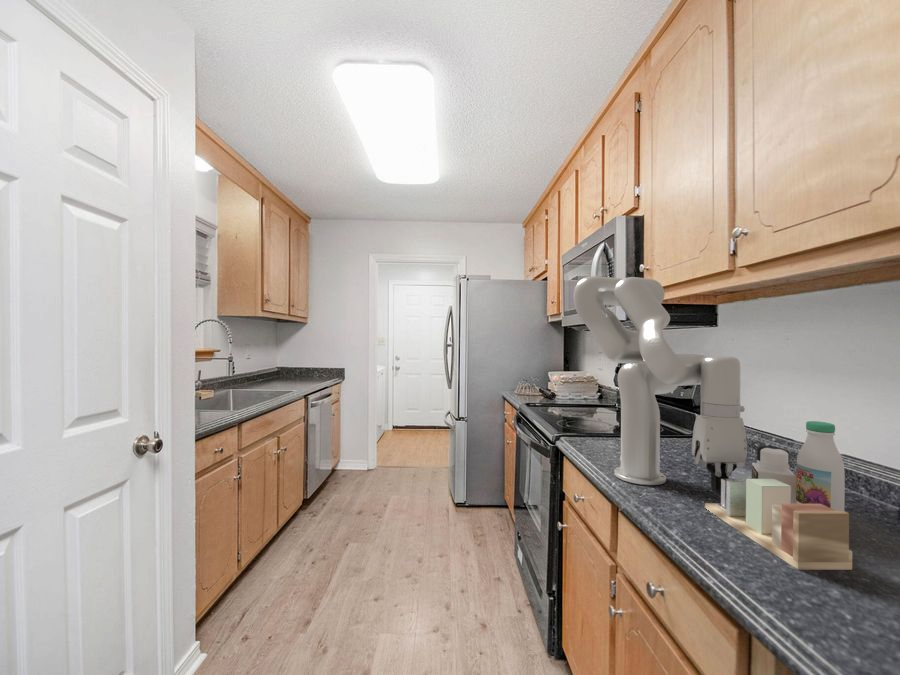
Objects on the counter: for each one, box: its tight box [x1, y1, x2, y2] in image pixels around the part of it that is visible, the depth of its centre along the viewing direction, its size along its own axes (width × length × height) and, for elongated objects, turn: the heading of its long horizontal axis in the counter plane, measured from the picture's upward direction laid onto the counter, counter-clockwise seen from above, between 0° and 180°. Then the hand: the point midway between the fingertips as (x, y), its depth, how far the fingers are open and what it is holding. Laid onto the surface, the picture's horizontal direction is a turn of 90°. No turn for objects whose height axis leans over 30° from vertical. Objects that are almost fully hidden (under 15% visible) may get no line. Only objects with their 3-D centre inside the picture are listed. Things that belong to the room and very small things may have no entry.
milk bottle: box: [795, 420, 846, 511], centre depth 88 cm, size 8×8×20 cm
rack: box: [704, 502, 853, 571], centre depth 80 cm, size 24×9×9 cm, turn 1°
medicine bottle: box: [751, 445, 796, 504], centre depth 98 cm, size 7×7×12 cm
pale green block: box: [745, 478, 791, 534], centre depth 79 cm, size 4×6×9 cm
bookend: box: [716, 478, 746, 517], centre depth 87 cm, size 5×7×7 cm
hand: (719, 492), depth 93 cm, fingers closed
